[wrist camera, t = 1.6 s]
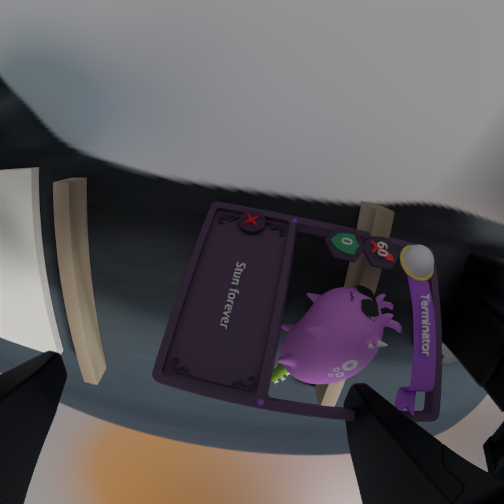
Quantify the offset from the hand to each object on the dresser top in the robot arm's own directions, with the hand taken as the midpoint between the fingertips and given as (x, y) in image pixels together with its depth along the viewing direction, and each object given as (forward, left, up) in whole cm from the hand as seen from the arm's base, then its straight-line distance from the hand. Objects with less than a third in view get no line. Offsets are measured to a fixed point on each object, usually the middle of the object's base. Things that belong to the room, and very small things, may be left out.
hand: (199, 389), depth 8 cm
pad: (+13, 0, -5) cm, 14 cm away
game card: (+1, -1, -4) cm, 4 cm away
